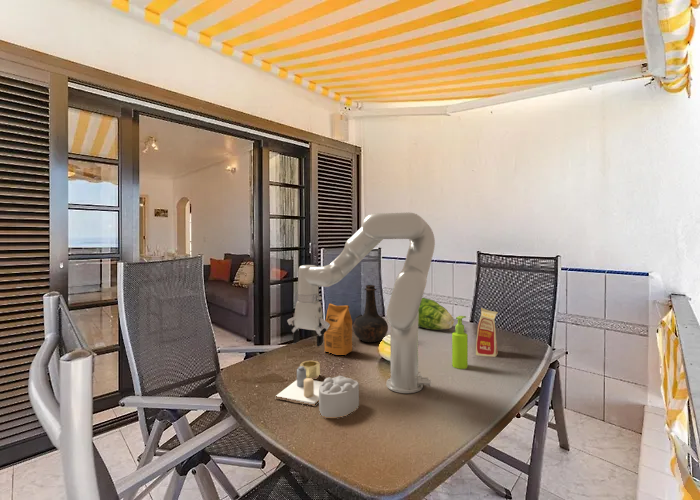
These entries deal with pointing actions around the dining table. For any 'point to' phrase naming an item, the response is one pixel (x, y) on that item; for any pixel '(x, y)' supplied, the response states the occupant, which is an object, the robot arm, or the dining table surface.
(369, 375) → the dining table surface
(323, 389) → the lumpy-topped squat cylinder
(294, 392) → the post board
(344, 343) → the coffee package
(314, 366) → the brass collar
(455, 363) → the soap dispenser
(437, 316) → the lettuce
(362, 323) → the glass bottle
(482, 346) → the milk carton
